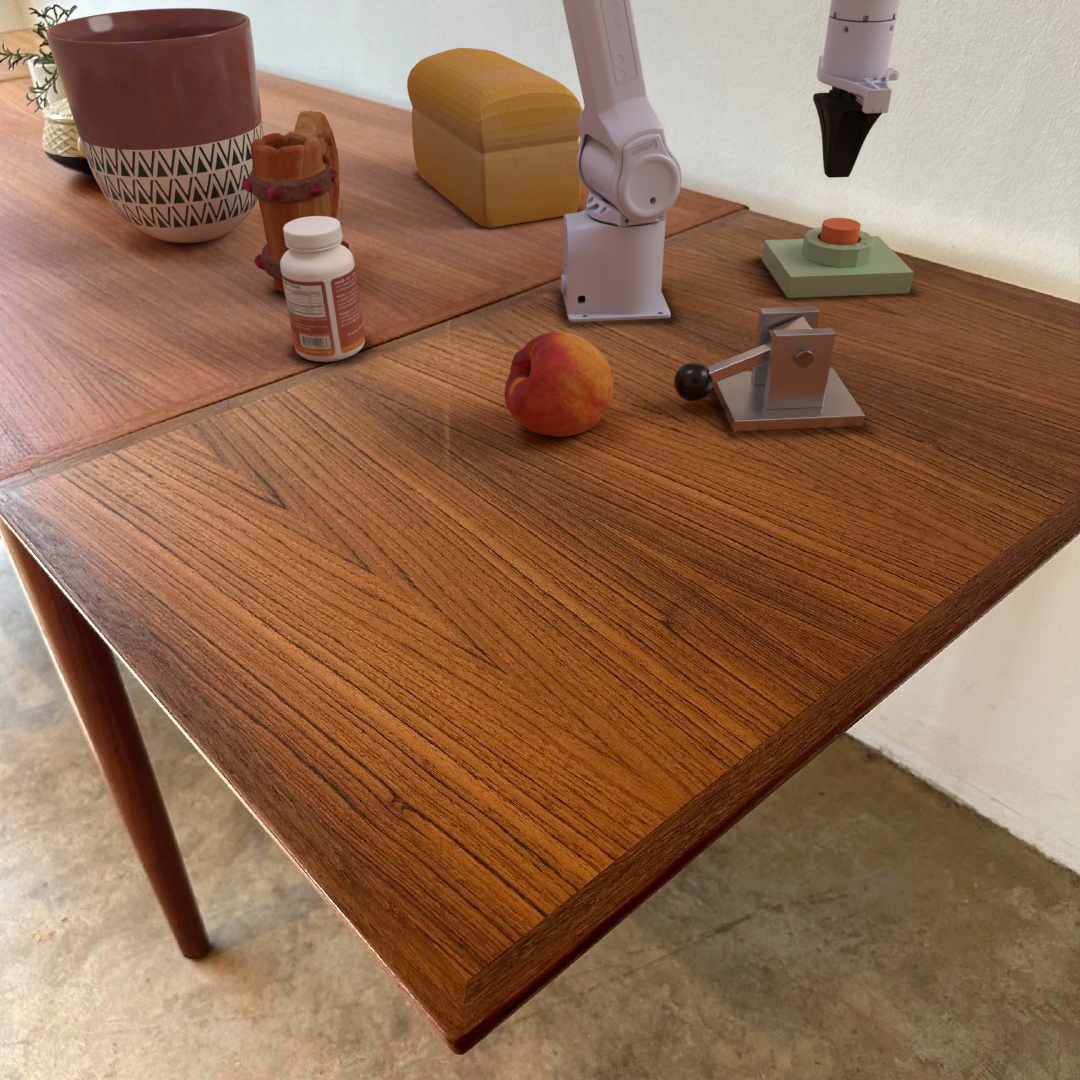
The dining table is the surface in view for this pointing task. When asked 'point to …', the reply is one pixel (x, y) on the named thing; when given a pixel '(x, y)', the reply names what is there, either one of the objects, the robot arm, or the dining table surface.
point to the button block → (835, 267)
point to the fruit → (559, 385)
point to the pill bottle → (321, 290)
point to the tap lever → (725, 367)
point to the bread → (495, 136)
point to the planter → (165, 114)
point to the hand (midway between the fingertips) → (836, 175)
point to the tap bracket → (789, 380)
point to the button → (840, 231)
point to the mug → (293, 183)
